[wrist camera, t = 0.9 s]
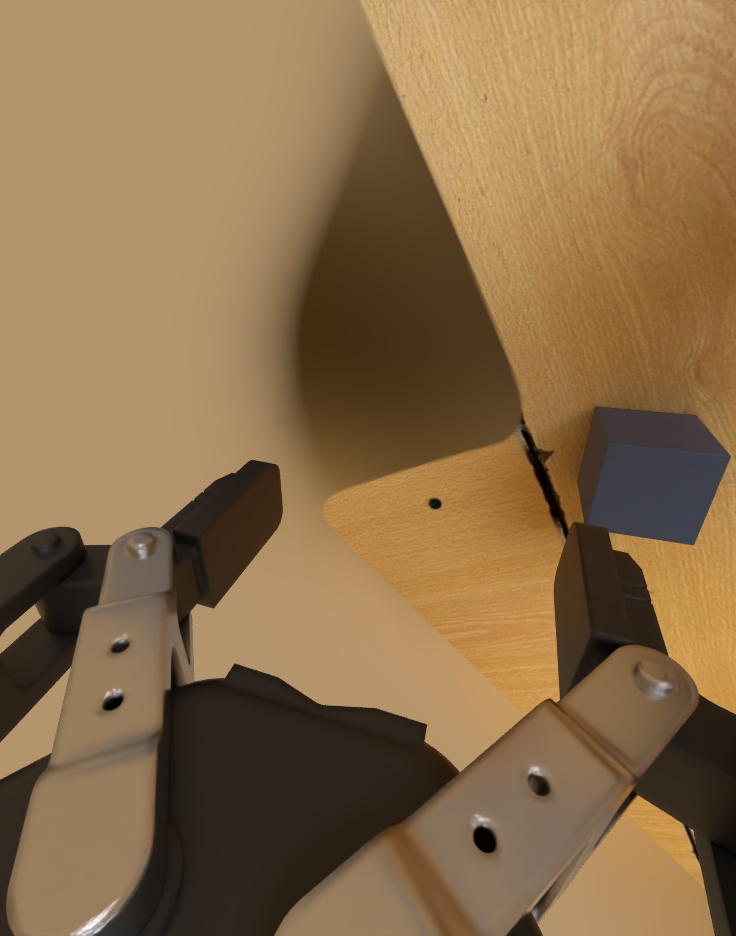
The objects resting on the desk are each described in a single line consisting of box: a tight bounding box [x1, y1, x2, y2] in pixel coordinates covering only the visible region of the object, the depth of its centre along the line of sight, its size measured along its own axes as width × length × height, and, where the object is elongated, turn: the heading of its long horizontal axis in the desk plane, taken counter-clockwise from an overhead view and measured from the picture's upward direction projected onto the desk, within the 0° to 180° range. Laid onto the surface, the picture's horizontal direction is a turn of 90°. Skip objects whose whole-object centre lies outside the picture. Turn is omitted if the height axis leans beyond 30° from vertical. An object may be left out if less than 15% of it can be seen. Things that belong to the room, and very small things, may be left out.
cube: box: [577, 407, 731, 545], centre depth 24 cm, size 5×5×5 cm
